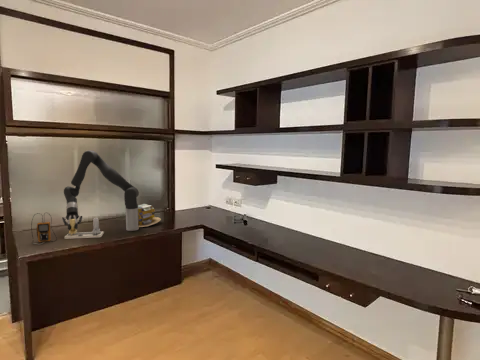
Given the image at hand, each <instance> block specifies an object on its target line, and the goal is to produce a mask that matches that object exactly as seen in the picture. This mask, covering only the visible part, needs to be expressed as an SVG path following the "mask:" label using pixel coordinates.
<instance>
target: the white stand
mask: <svg viewBox="0 0 480 360" xmlns="http://www.w3.org/2000/svg"><path fill="white" fill-rule="evenodd" d="M99 220H100V219H99V218H98V217H94V218H92V222H93V223H92V224H93V225H92V227H93V229H92V231H86V232H85V231H83V232H82V231H81V232H78V231H77V232H76V233H75V234H72V236H71V234H69V232H68V233H67V234H66V235H64V239H65V240H66V239H68V240H72V239H87V238H88V239H89V238H102V237H103V235H104V233H105V231H101V228H100V223H99Z"/></svg>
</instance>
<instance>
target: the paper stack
mask: <svg viewBox="0 0 480 360" xmlns="http://www.w3.org/2000/svg"><path fill="white" fill-rule="evenodd" d="M155 211H156V210H155V208H154V207H153V205H150V204H147V203H142V204H138V217H139V228H143V227H144V228H145V227H149V226H152V225H155V224H158V223H159V222H160V221H161V220H162V219H161V218H160V217H158V216H157V217H156V216H155V215H156V214H155V213H154V212H155Z"/></svg>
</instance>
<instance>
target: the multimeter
mask: <svg viewBox="0 0 480 360" xmlns="http://www.w3.org/2000/svg"><path fill="white" fill-rule="evenodd" d="M37 214H39V215H41V216H42V217H41V219H42V220H41V222H38V223H36V236H37V241H38V242H39V243H36V242H35V243H34V241H32V242H31V244H32V245H33V244H34V245H38V246H39V245H43V244H45V243H46V242H51V243H53V242H55V240H54V241H51V239H52V237H51V236H52V234H51V230H52V232H53V235H54V236H55V239H56V240H58V238H57V236H56V234H55V232H54V229H52V228H53V227H51V224H52V221H53V220H52V215H51V214H50V213H49V212H47V214H48V215H49V216H50V221H46V220H45V217H44V215H45V214H46V212H44V214H43V215H42V213H38V212H37V213H36V215H37ZM34 218H35V215H32V220H31V221H33V220H34ZM30 225H31V226H30V227H31V230H30V231H33V227H32V226H33V222H31V224H30ZM31 236H32V238H34V235H33V233H31ZM41 242H42V243H41Z"/></svg>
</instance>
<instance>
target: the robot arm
mask: <svg viewBox="0 0 480 360" xmlns="http://www.w3.org/2000/svg"><path fill="white" fill-rule="evenodd" d="M91 163H92V164H93V165H94V166H95V167H96V168H97V169H98V170H99V171H100V173H101V174H102V176H103V177H104V178H105V179H106V180H107V181H108V182H109V183H111V184H112V185H114V186H117V187H118V188H120V189H121V190H123V192H124V195H123V196H124V206H125V223H126V224H125V226H126V228H125V229H126V231H129V232H132V231H138V230H139V228H140V227H139V217H138V205H139V204H138V202H137V201H138V199H137V198H138V197H139V193H140V192H139V189H138V188H137V187H135V186H134V185H132V183H130V182H128V181H127V180H126V179H125V178H124V177H123V176H122V175H121V173H119V172H118V171H117V170H116V169H115V168H113V167H112V166H111V165H110V164H109V163H107V162H106V161H105V160H104V159H103V158H102V157H101V156H100V155H99V153H98V152H96V151H95V150H90V149H88V150H85V151H84V152H83V153H82V155H81V158H80V161H79V164H78V167H77V170H76V172H75V174H74V175H73V177H72V179H71V180H70V184H71V185H72V186H74V187H72V186H69V185H68V186H66V187H64V189H63V195H64V197H65V200H66V207H65V208H66V212H65V213H66V216H65V217H64V216H63V217H61V220H62V222H63V224H64V226H67V229H68V231H70V219H75V227H76V230H78V227H79V226H78V225H81V223H82V221H83V215H79V209H78V199H77V197H78V196H79V194H80V190H81V185H82V183H83V181H84V179H85V177H86V173H87V169H88V167H89V166H90V164H91ZM66 220H67V221H68V222H67V221H66Z"/></svg>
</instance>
